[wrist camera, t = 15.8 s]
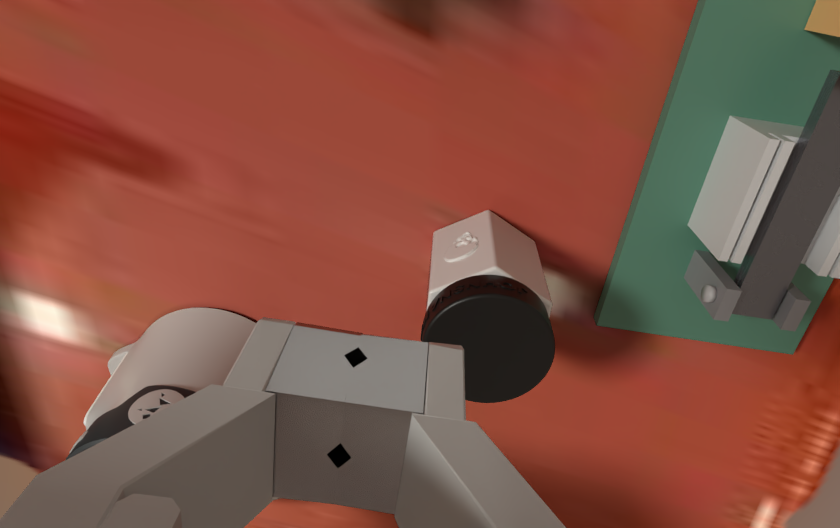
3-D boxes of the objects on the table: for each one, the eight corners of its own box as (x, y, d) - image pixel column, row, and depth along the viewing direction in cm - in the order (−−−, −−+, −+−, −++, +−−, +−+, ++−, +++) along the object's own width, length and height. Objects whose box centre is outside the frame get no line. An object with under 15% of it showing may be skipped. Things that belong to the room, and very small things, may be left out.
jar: (515, 194, 43) (534, 271, 33) (552, 283, 47) (580, 378, 36) (406, 238, 46) (391, 324, 35) (449, 320, 49) (447, 421, 38)
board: (785, 345, 48) (834, 402, 42) (593, 317, 48) (613, 370, 42) (975, -15, 36) (1084, -9, 30) (717, -56, 35) (772, -59, 29)
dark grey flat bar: (764, 311, 41) (771, 319, 40) (722, 305, 41) (728, 313, 40) (881, 77, 33) (893, 81, 33) (830, 69, 33) (840, 72, 32)
